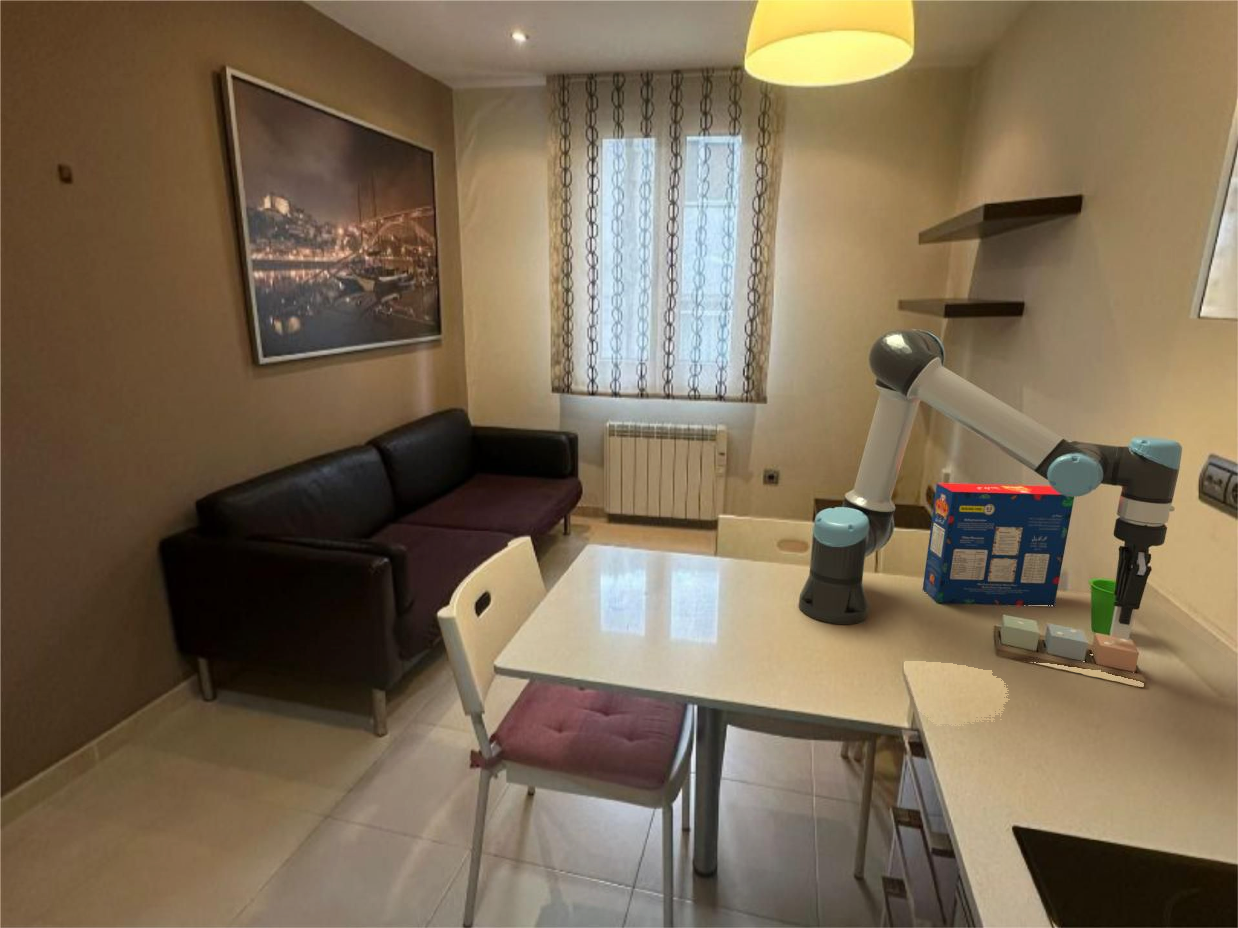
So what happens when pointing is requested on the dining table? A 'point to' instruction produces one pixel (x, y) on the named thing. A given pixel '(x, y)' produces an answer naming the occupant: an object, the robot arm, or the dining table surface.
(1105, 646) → the peach block
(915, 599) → the dining table surface
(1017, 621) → the pale green block
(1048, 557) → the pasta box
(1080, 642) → the grey block
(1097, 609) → the cup
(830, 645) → the dining table surface
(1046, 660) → the board
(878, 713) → the dining table surface
